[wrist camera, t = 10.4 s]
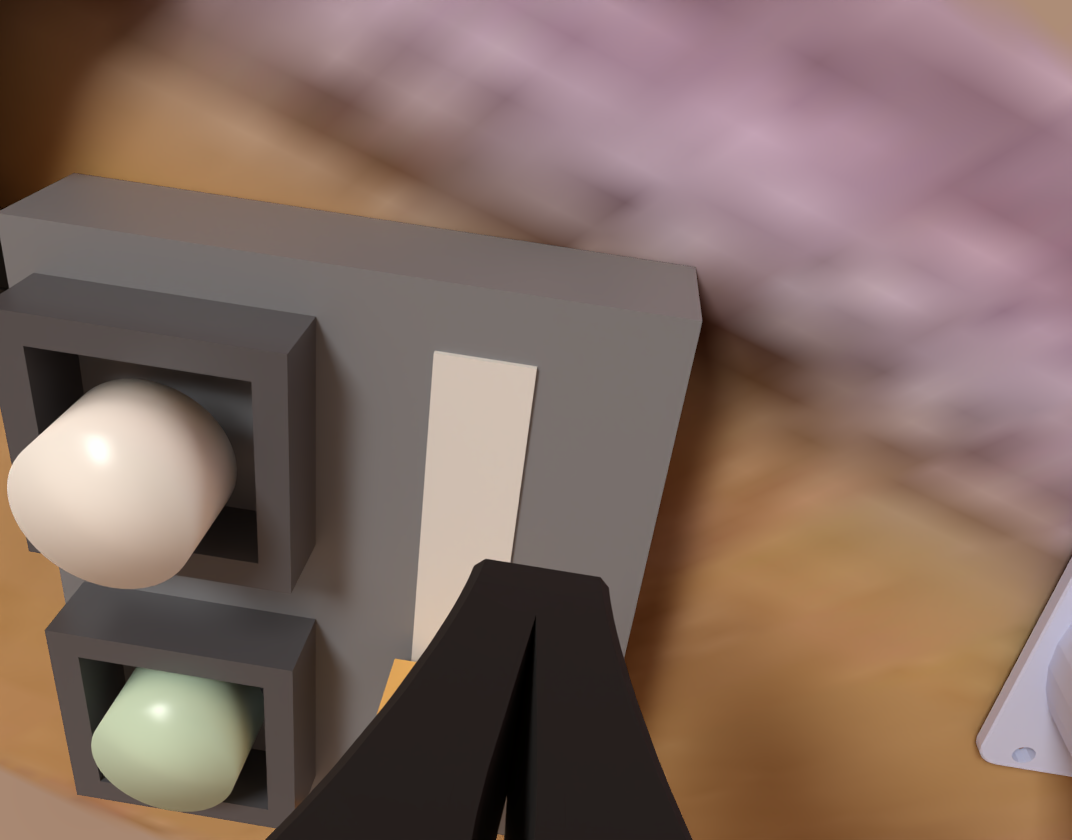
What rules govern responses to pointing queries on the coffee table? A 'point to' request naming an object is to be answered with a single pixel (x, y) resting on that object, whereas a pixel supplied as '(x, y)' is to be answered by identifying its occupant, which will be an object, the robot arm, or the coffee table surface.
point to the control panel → (339, 439)
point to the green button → (177, 738)
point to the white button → (123, 484)
